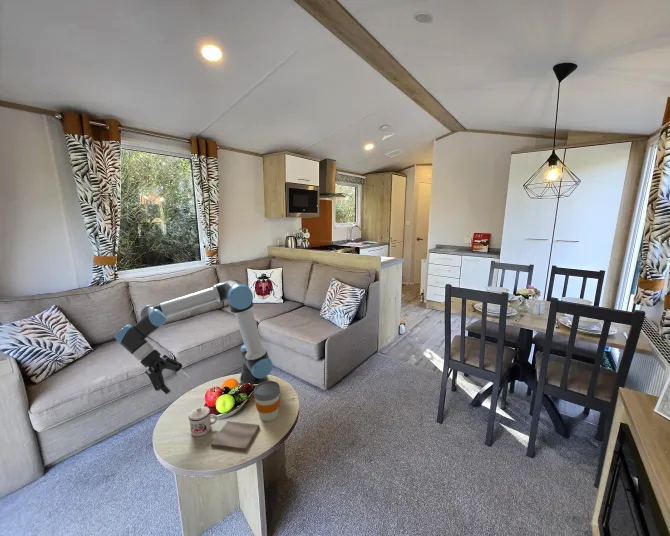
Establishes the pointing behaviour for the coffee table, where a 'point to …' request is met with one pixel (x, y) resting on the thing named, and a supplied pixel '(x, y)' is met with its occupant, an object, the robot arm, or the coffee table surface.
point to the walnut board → (235, 436)
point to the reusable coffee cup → (267, 399)
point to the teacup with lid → (200, 421)
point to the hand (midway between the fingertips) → (182, 388)
